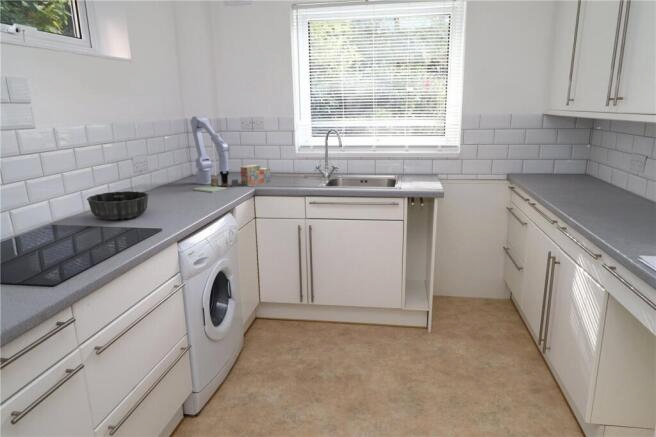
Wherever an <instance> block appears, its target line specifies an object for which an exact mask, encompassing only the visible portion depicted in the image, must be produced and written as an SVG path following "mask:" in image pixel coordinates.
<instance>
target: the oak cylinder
mask: <svg viewBox="0 0 656 437" xmlns="http://www.w3.org/2000/svg"><path fill="white" fill-rule="evenodd" d="M218 180H219V179H218V178H211V184H210V186H216V187H219V181H218Z"/></svg>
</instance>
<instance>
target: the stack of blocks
mask: <svg viewBox="0 0 656 437" xmlns="http://www.w3.org/2000/svg"><path fill="white" fill-rule="evenodd" d="M270 172H271V171H270V167H261V164H248V165H243V166H240V179H241V180H240V182H241V183H240V184H241V185H242V186H248V185H249V186H254V185H258V183H259V184H264V183H267V181H268V182H271V173H270ZM263 182H264V183H263ZM249 186H248V187H249Z"/></svg>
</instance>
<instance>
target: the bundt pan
mask: <svg viewBox="0 0 656 437" xmlns="http://www.w3.org/2000/svg"><path fill="white" fill-rule="evenodd" d="M149 195H150V194H149V193H147V192H145V191H137V190H136V191H132V190H131V191H130V190H129V191H128V190H127V191H125V190H124V191H113V192H102V193H98V194H95V195H91V196H88V198H87V197H86V201H87V202H88V205H89V208H90V211H91V214H92V215H94V217H95V218H97V219H98V218H99V219H101V220H105V221H116V220H122V221H123V220H124V219H129V220H130V219H132V218H138V217H139V216H141V215H143V214H144V213H145V212H146V211H147V209H148V200H149V198H148V197H149Z"/></svg>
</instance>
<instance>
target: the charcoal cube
mask: <svg viewBox="0 0 656 437" xmlns="http://www.w3.org/2000/svg"><path fill="white" fill-rule="evenodd" d="M230 181H231V186H232V187H239V180H238V178H237V179H234V178H233V179H231V180H230Z"/></svg>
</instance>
